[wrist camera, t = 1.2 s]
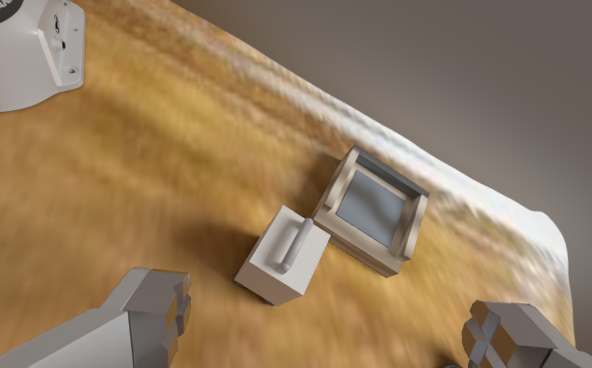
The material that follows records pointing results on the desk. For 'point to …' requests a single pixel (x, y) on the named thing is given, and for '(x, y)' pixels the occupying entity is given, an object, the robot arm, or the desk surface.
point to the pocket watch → (471, 367)
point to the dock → (371, 212)
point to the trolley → (283, 258)
